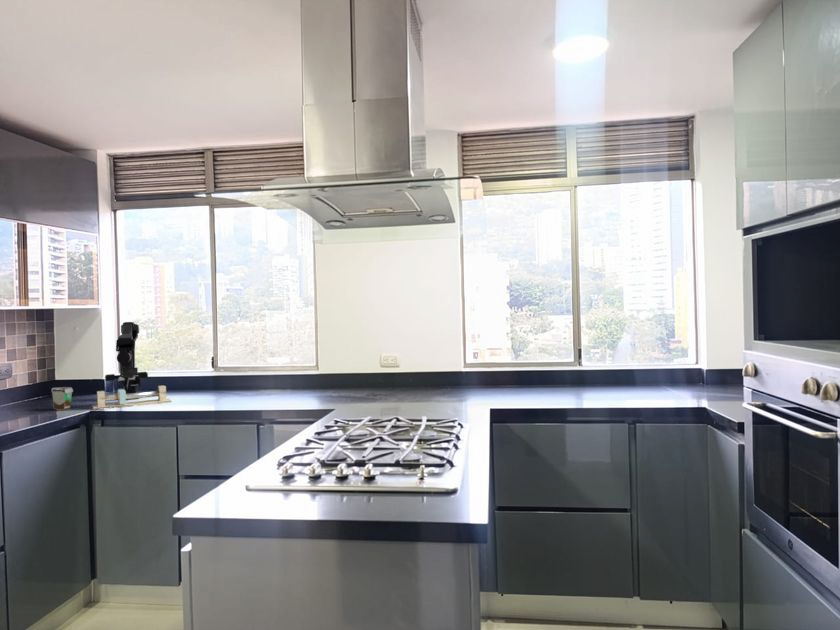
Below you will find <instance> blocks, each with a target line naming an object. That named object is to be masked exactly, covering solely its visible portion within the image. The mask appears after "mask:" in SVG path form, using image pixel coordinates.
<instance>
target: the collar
mask: <svg viewBox="0 0 840 630" xmlns="http://www.w3.org/2000/svg"><path fill="white" fill-rule="evenodd" d="M117 394H118V395H120V400H117V403H119V404H126V402H127V400H126V392H125V389H124V388H117Z"/></svg>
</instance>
